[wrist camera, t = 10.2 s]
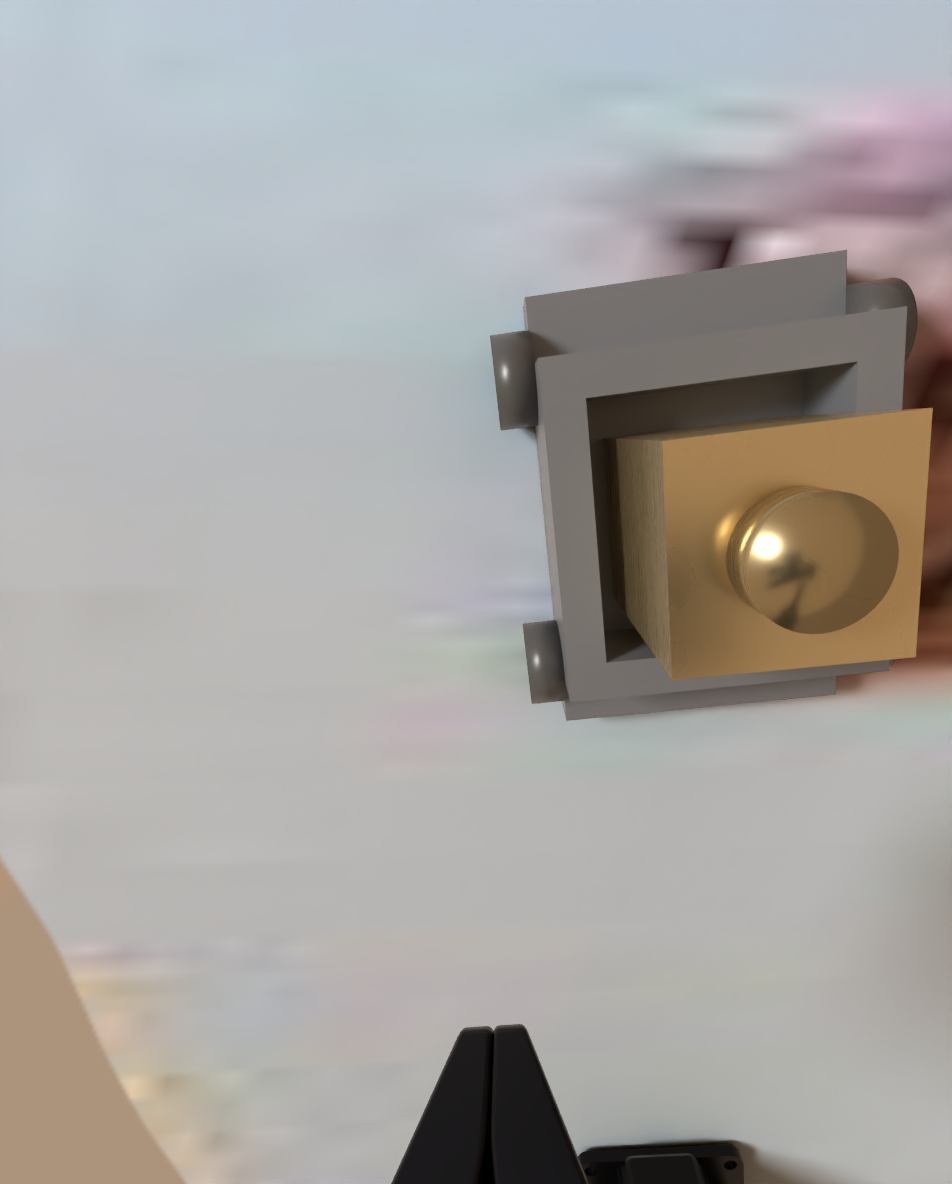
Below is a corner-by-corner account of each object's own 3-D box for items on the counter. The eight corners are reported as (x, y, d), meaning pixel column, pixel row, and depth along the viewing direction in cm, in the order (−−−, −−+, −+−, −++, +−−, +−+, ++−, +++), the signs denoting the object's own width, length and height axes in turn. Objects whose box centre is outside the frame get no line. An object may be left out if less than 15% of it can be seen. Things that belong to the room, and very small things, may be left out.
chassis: (847, 674, 19) (926, 729, 15) (532, 706, 20) (539, 765, 16) (860, 257, 16) (961, 208, 12) (487, 312, 17) (484, 280, 13)
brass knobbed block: (773, 581, 17) (955, 678, 10) (614, 597, 17) (688, 703, 11) (774, 417, 16) (978, 405, 9) (603, 438, 16) (678, 442, 9)
